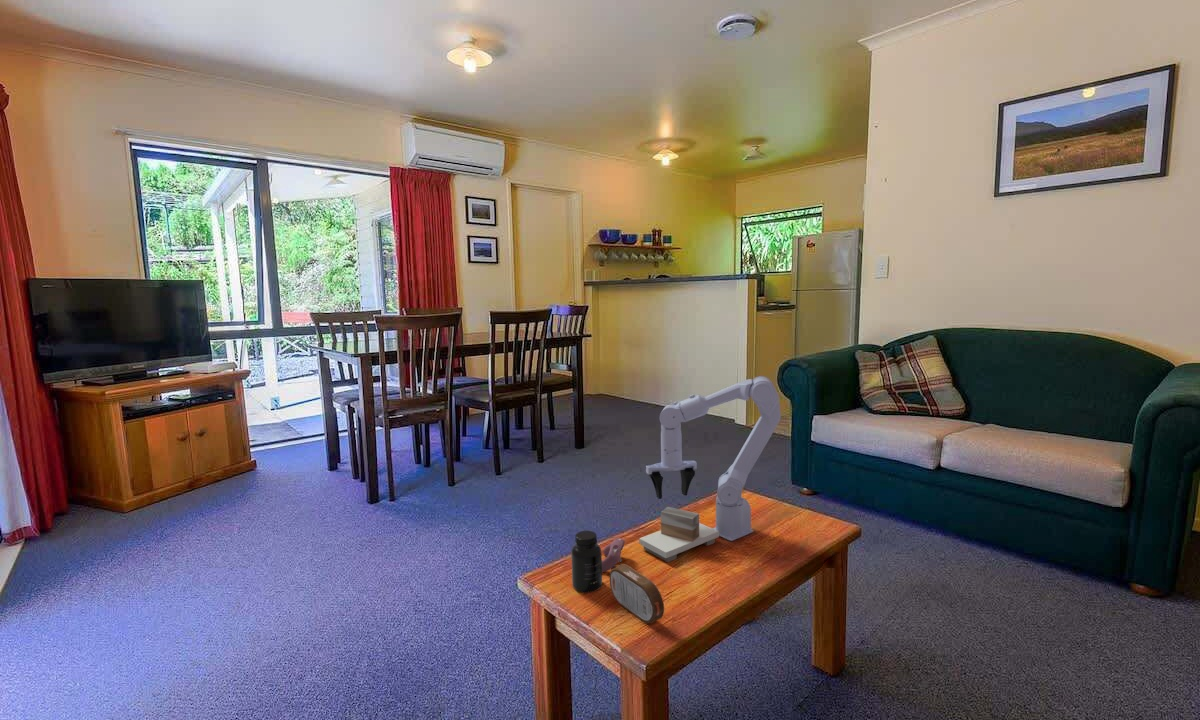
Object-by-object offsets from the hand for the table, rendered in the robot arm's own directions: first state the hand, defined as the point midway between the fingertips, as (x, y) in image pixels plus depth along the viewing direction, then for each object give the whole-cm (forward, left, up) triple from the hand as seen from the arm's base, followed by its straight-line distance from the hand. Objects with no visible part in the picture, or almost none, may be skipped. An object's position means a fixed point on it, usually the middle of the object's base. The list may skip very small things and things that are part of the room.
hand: (671, 496), depth 146 cm
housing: (+6, +9, -6) cm, 13 cm away
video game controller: (+26, +6, -10) cm, 28 cm away
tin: (+34, +24, -10) cm, 43 cm away
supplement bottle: (+36, +10, -10) cm, 39 cm away
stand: (+6, +9, -9) cm, 14 cm away
